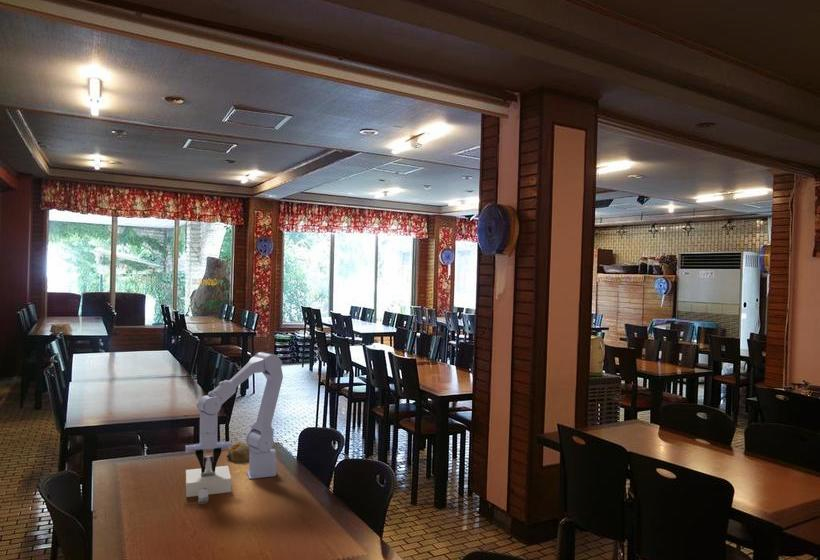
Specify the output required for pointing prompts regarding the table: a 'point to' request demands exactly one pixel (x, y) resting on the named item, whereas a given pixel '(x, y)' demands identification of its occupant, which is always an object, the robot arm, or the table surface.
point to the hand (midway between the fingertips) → (208, 471)
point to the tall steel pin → (208, 466)
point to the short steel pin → (203, 495)
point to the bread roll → (239, 452)
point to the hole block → (208, 481)
